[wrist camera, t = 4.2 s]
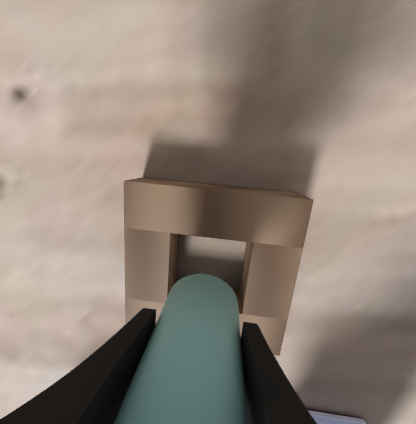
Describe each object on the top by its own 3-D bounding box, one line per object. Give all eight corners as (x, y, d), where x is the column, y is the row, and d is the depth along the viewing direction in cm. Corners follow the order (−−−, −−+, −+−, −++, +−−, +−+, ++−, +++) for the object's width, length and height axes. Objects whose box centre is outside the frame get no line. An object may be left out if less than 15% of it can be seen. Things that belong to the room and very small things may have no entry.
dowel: (245, 282, 11) (275, 482, 4) (229, 340, 12) (234, 575, 5) (172, 266, 11) (89, 436, 4) (163, 325, 12) (85, 535, 5)
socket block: (296, 192, 15) (313, 199, 12) (271, 324, 18) (279, 355, 15) (142, 177, 16) (123, 181, 13) (141, 306, 19) (125, 332, 16)
